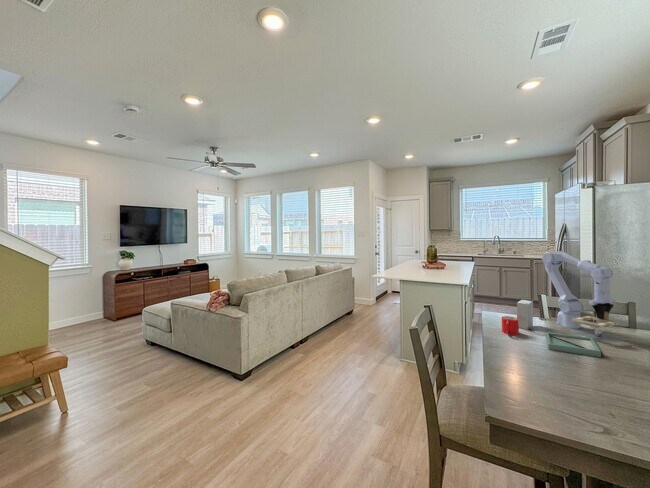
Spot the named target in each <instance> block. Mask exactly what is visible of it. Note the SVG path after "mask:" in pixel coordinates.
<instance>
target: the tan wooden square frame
mask: <svg viewBox="0 0 650 488" xmlns="http://www.w3.org/2000/svg"><path fill="white" fill-rule="evenodd" d="M609 314H610V312H604V318H603V319H600V318H598V317H597V315H595V316H593V315H585V316H580V317H579V318H573V319H572V321H574V322H577V323H580V325H581V324H582V325H585V326H589V327H590V326H592V327H596V328H605V327H606V328H607V327H612V326H617V325H619V322H618V321H614V320H610V316H609ZM590 320H592V321H596V322H599V323H596V322H595V323H594V322H591V321H590Z"/></svg>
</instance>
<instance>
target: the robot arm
mask: <svg viewBox="0 0 650 488" xmlns="http://www.w3.org/2000/svg"><path fill="white" fill-rule="evenodd" d="M541 260H542V262H543V264H544V269H545V271H546V273H547V276H548V277H549V279H550V280H551V283H552V284H553V287H554V289H555V290H556V293H557V294H558V296H559V298H558V300H557V302H558V307H559V310H560V311H559V312H558V313H557V319H556V320H557V321H556V322H557V325H560V326H563V327H565V328H568V329H573V330H574V329H575V330H576V329H580V328H581V323H577V322H574V321H572V319H573V318H579V317H581V314H582V312H583V310H584V308H585V306H584V303H583V302H582V301H580V300H579V299H578V296H576V295H573V294H572V291H570V288H569V286H568V285H567V283H566V281H565V280H564V277H563V276H562V274H561V272H560V270H559V268H560V267H561V265H562V264H563V263H567V264H570V265H573V266H576V267H577V269H578V270H579V271H581V272H584V273H586V274H587V275H590V276H591V277H592V279H593V290H594V291H593V293H594V297H593V299H591V300H588V305H589V306H591V307H592V308H593V310H594V312H595V314H596V315H597V316H596V315H595V316H596V317H598V318H600V319H603V318H604V312H609V313H610V312H611V310H612V309H613V308H614V304H616V303H617V302H616V298H613V297H612V298H611V278H612V277H613V275H614V271H613V270H612V269H611V268H610V267H608V266H601V265H600V264H596V263H593V262H592V261H591V260H589V259H586V260H580V259H578V258H576V257H574V256H572V255H570V254H568V253H567V252H564V251H561V250H557V251H546V252H544V253H543V254H542V256H541Z"/></svg>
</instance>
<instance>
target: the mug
mask: <svg viewBox="0 0 650 488" xmlns="http://www.w3.org/2000/svg"><path fill="white" fill-rule="evenodd" d="M501 332H502V333H503V332H504V333H503V334H505V333H506V335H509V334H510V335H511V336H518V335H519V333H520V328H519V319H518V318H517V317H516V316H510V315H508V316H507V315H504V316H501Z"/></svg>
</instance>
